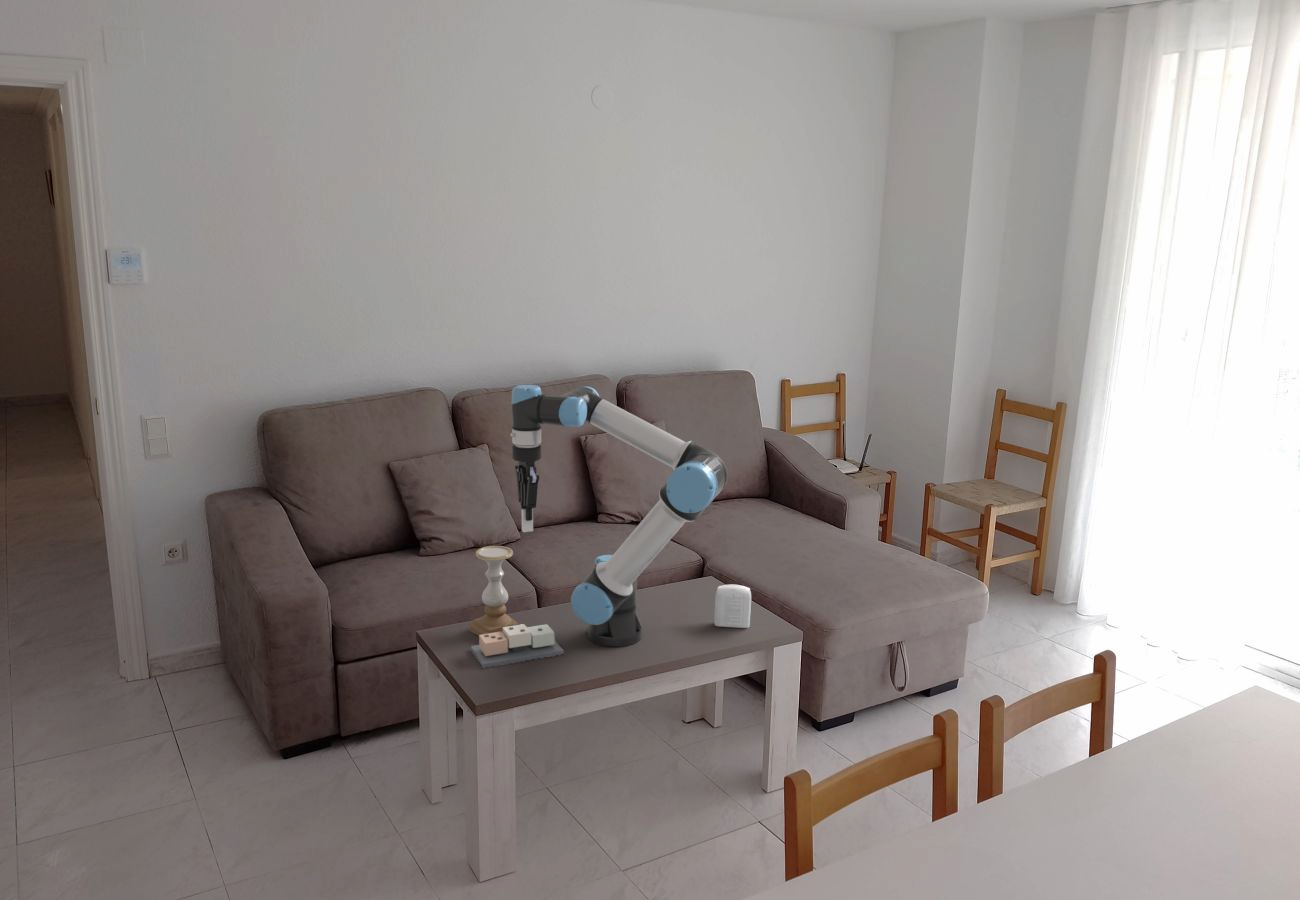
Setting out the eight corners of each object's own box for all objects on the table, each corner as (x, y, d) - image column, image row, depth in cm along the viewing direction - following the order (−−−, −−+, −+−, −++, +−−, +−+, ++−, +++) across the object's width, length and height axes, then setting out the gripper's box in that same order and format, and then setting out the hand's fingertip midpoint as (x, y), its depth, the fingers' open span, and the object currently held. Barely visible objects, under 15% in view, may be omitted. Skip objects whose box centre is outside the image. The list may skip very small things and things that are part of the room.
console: (548, 637, 283) (548, 624, 282) (563, 654, 273) (563, 641, 272) (471, 650, 274) (470, 637, 273) (483, 668, 264) (483, 654, 263)
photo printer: (749, 623, 296) (751, 583, 293) (750, 629, 292) (751, 588, 289) (714, 621, 296) (715, 581, 293) (714, 627, 292) (715, 587, 289)
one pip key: (547, 636, 280) (547, 623, 279) (554, 644, 274) (554, 631, 273) (526, 639, 277) (525, 626, 276) (533, 648, 272) (533, 635, 271)
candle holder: (468, 630, 287) (467, 549, 282) (503, 621, 294) (501, 542, 288) (488, 643, 279) (486, 560, 273) (522, 634, 285) (521, 553, 280)
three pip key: (501, 643, 274) (500, 630, 273) (507, 652, 269) (507, 639, 268) (479, 647, 272) (479, 634, 271) (485, 656, 267) (485, 642, 266)
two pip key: (524, 636, 277) (524, 623, 276) (531, 644, 271) (531, 631, 271) (502, 639, 274) (502, 626, 273) (509, 648, 269) (509, 635, 268)
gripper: (505, 440, 270) (506, 525, 276) (520, 451, 259) (521, 539, 264) (532, 438, 273) (533, 522, 279) (548, 448, 262) (549, 536, 267)
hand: (527, 530), depth 271 cm, fingers closed
